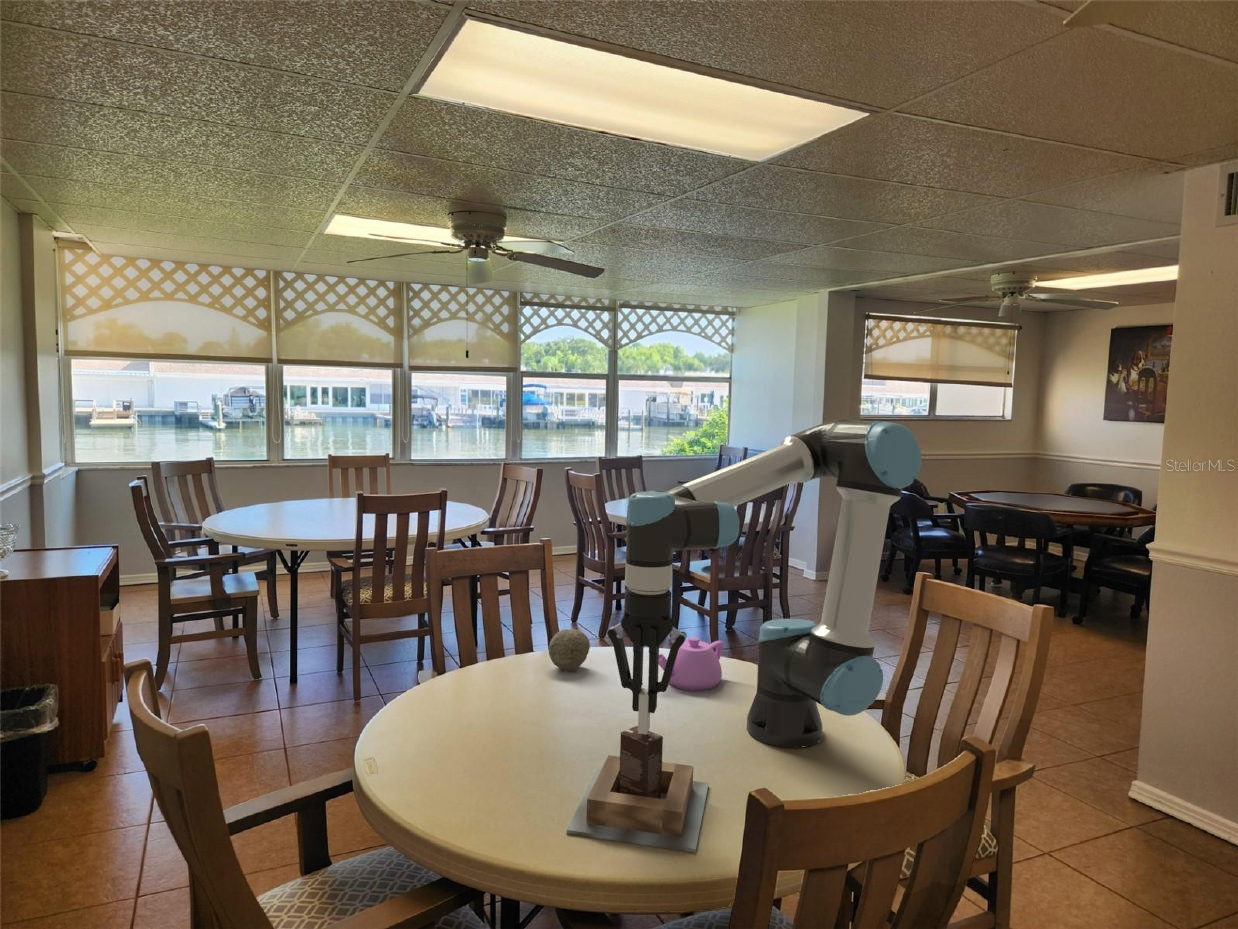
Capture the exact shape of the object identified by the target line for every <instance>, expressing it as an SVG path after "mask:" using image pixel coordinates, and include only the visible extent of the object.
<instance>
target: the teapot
mask: <svg viewBox="0 0 1238 929" xmlns="http://www.w3.org/2000/svg"><path fill="white" fill-rule="evenodd" d="M714 649H715V650H714ZM723 651H724V641H722V640H716V641H713V642H711V643H710V644H709V643H708V642H705V641H701V638H699V637H695V636H693V637H692V636H691V637H688V639H687V640H685V641H684V643H683V644H682V646H681V647H680V648H679V651H678V654H677V658H676V661H675V664H674V668H673V671H672V675H671V678H670V682H669V684H671V685H672V686H673V687H676V688H677V689H681V690H686V691H694V692H695V691H706V690H711V689H713V688H715V686H717V685H718V684H719V683H720V681H721V679H722V677H723V671H722V665H721V663H720V659H721V657H722V654H723ZM667 659H668V657H667V658H666V656H665V655H664V654H663V653H659V667H660V668H661V669H662V670H663V671H664V670H665V666H666V663H667Z"/></svg>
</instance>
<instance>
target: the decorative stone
mask: <svg viewBox="0 0 1238 929" xmlns="http://www.w3.org/2000/svg"><path fill="white" fill-rule="evenodd" d="M590 648H591V644H590V640H589V637H588V636H587V635H586V634H585V633H584V632H583V631H580V630H578V629H573V628H571V629H561V630H559V631H557V632H556V633H555V634H554V635H553V636H552V637H551V640H550V642H549V645H548V655H549V658H550V661H551V662H552V663H553V665H554V666H556V667H557V668H558V669H560V670H562V671H569V672H570V671H575V670H577V669H579V667H581V666H582V665H583V663H584V662H585V661H586V659H587V658H588V654H589V651H590Z"/></svg>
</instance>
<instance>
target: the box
mask: <svg viewBox="0 0 1238 929" xmlns="http://www.w3.org/2000/svg"><path fill="white" fill-rule="evenodd" d="M663 740H664V737H663V735H660V734H658V733H655V732H652V731H650V730H649V731H648V733H647V734H639V733H638V725H636V726H632V727H631V728H628V729H626V730H623V731H621V732H620V740H619V741H620V745H619V746H620V747H619V748H620V749H619V757H620V772H619V793H622V794H629V795H637V796H644V797H651V798H659V799H661V779H662V778H661V777H662V762H663V746H664V745H663V744H664V743H663V742H664V741H663Z"/></svg>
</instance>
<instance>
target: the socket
mask: <svg viewBox="0 0 1238 929" xmlns="http://www.w3.org/2000/svg"><path fill="white" fill-rule="evenodd" d="M619 772H620V756H619V755H618V756H617V755H611V754H610V755H609V754H608V756H607V757H606V760H605V761H604V763H603V766H602V767H601V768H597V769H596V771H595V773H594V775H592V776H593V777H592V778H591V780H590V782H589V784H588V786H587V788H586V790H585V793H584V794H583V796H582V798H581V800H580V803H579V805H578V806H577V809H576V810H575V812H574V815H573V816H572V818H571V820H570V822H569V825H568V826H567V828H566V834H567V835H572V836H573V835H575V836H581V837H588V838H594V839H600V840H608V841H613V842H614V841H615V842H620V843H621V842H622V843H627V844H628V843H629V844H633V845H634V844H635V845H641V846H648V847H655V848H662V849H669V850H673V851H681V852H689V853H694V854H696V853H697V847H698V844H699V843H698V842H699V838H700V831H701V826H702V823H703V822H702V821H703V816H704V811H705V806H706V800H707V795H708V790H709V782H706V781H705V782H703V781H694V765H690V764H689V765H687V764H680V763H673V762H665V761H662V777H661V778H662V779H661V799H659V798H651V797H644V796H637V795H629V794H622V793H619Z"/></svg>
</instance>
